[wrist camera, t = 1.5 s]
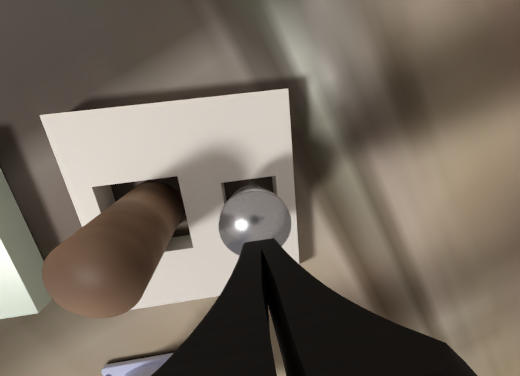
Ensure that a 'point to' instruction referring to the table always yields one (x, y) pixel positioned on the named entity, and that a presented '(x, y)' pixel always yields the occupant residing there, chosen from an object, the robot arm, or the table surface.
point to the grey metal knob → (253, 218)
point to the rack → (18, 261)
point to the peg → (114, 253)
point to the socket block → (180, 172)
